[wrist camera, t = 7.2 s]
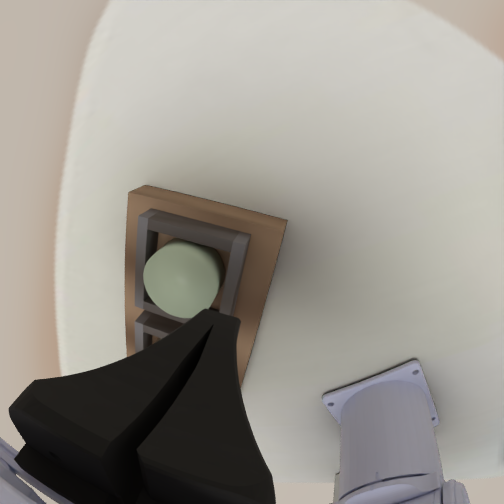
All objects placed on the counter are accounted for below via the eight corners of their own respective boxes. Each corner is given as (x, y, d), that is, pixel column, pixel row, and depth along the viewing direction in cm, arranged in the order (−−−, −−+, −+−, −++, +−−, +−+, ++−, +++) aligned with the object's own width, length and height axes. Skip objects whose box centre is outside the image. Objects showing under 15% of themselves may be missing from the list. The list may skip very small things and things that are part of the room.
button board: (145, 185, 19) (114, 198, 16) (287, 220, 18) (280, 242, 15) (140, 399, 28) (125, 424, 25) (227, 429, 27) (218, 458, 24)
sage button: (162, 227, 17) (145, 240, 16) (230, 246, 17) (219, 262, 15) (157, 288, 19) (142, 304, 17) (218, 307, 19) (208, 327, 17)
